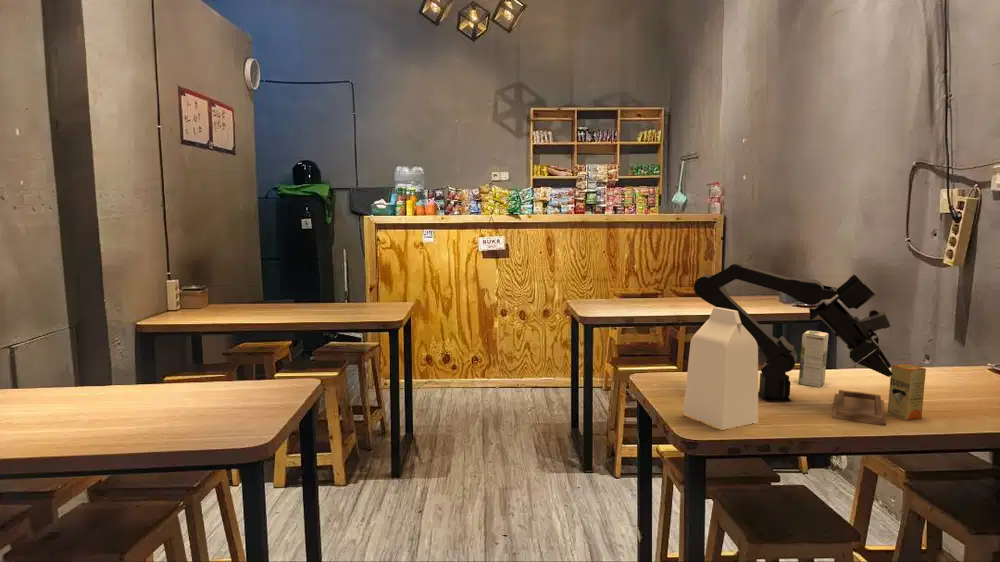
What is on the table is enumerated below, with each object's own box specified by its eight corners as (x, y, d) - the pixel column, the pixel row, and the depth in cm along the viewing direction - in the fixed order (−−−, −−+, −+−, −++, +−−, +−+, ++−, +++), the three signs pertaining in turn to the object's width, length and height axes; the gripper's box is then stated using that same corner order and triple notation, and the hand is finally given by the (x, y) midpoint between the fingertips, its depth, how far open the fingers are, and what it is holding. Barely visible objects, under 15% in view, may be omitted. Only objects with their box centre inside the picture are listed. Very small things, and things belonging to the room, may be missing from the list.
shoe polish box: (906, 420, 154) (911, 370, 152) (887, 414, 158) (891, 365, 157) (921, 418, 155) (925, 368, 154) (902, 411, 160) (906, 363, 159)
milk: (683, 415, 156) (687, 307, 153) (717, 408, 162) (722, 303, 159) (722, 431, 146) (728, 315, 143) (758, 423, 151) (764, 311, 148)
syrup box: (802, 379, 188) (805, 329, 186) (825, 383, 185) (828, 332, 183) (798, 384, 184) (801, 333, 182) (821, 387, 180) (825, 335, 178)
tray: (831, 417, 155) (832, 410, 155) (835, 396, 173) (835, 389, 172) (885, 425, 150) (886, 418, 150) (883, 402, 167) (884, 395, 167)
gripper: (869, 305, 150) (923, 358, 146) (868, 295, 166) (917, 342, 162) (828, 336, 154) (879, 388, 150) (832, 323, 171) (878, 370, 167)
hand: (890, 371), depth 157 cm, fingers open, 9 cm apart
